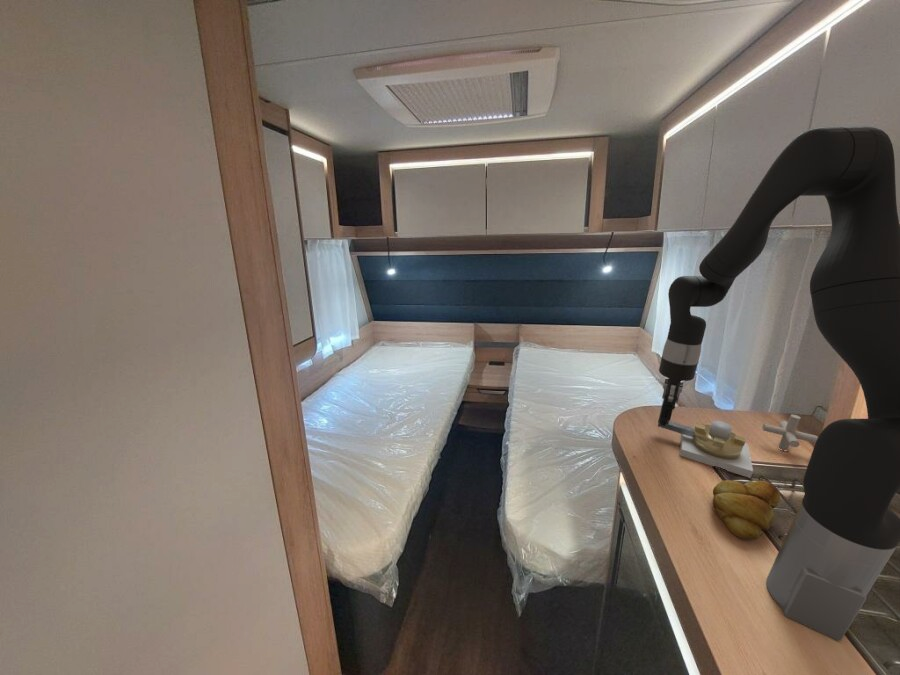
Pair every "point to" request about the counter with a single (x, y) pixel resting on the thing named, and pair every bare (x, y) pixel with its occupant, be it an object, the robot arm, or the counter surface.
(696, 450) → the flange plate
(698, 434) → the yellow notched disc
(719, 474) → the counter surface
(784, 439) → the pipe connector
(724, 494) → the bread roll
